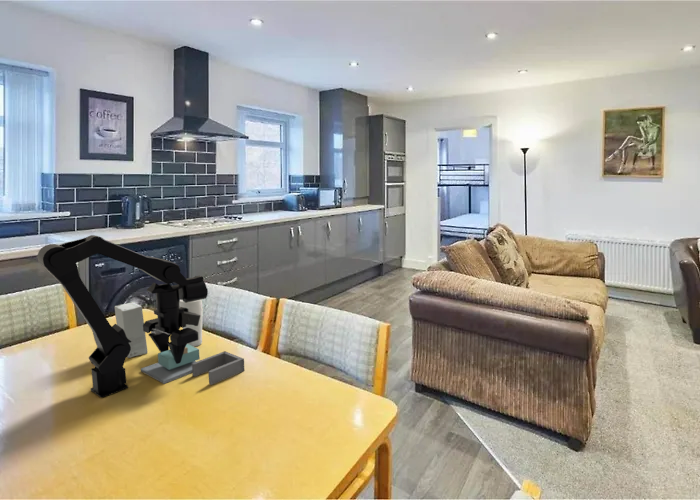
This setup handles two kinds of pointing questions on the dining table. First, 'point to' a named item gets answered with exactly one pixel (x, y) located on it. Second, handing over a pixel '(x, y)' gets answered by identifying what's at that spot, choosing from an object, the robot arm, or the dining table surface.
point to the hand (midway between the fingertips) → (172, 360)
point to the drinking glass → (198, 309)
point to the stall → (219, 366)
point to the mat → (167, 372)
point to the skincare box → (132, 327)
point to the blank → (188, 356)
